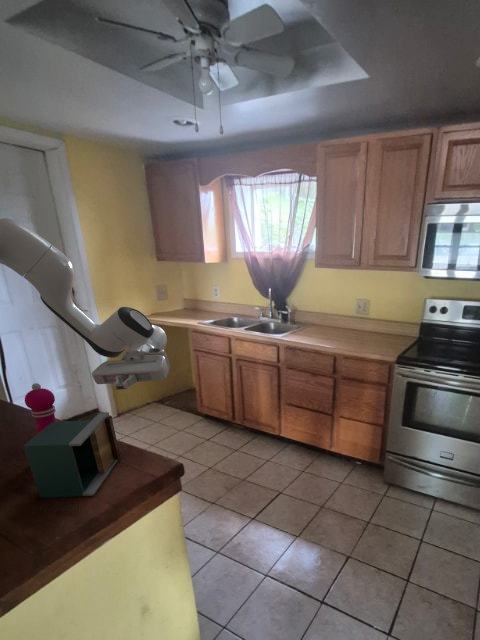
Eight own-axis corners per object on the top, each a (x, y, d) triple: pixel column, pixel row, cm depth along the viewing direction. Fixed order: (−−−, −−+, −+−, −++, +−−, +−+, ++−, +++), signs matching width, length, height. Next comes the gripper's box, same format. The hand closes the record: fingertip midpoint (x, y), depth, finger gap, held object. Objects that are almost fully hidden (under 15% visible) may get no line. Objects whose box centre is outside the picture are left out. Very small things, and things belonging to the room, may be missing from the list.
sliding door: (98, 473, 87) (88, 430, 83) (110, 457, 94) (101, 416, 89) (109, 472, 87) (99, 430, 83) (120, 456, 94) (111, 416, 89)
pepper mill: (68, 445, 100) (48, 376, 92) (76, 455, 96) (56, 383, 88) (36, 455, 96) (13, 383, 88) (43, 466, 91) (20, 391, 83)
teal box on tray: (40, 497, 80) (22, 445, 75) (73, 460, 94) (61, 413, 89) (93, 495, 81) (79, 443, 76) (119, 458, 95) (108, 412, 89)
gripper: (101, 353, 108) (77, 379, 97) (169, 348, 106) (153, 375, 95) (109, 371, 112) (87, 399, 100) (175, 367, 110) (160, 394, 99)
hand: (120, 387), depth 98 cm, fingers closed
